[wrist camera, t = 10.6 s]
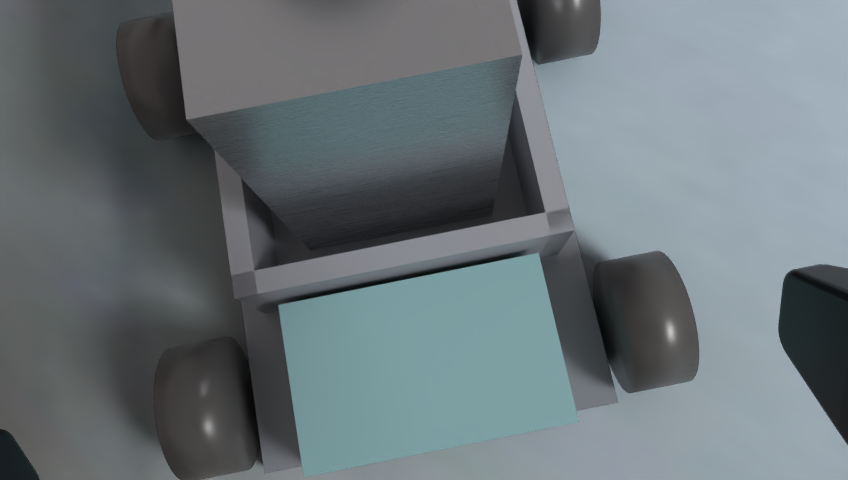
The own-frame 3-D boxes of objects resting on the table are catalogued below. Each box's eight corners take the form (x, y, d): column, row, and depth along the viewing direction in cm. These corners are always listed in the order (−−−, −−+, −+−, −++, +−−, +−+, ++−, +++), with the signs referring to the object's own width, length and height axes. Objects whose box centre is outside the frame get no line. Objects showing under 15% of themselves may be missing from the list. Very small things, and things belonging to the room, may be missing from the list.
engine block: (492, 215, 21) (535, -17, 10) (309, 250, 21) (130, 61, 10) (452, 35, 23) (449, -361, 11) (281, 68, 23) (95, -292, 11)
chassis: (672, 397, 21) (723, 395, 17) (213, 489, 21) (157, 509, 17) (558, -28, 24) (577, -112, 20) (160, 51, 24) (103, -17, 20)
